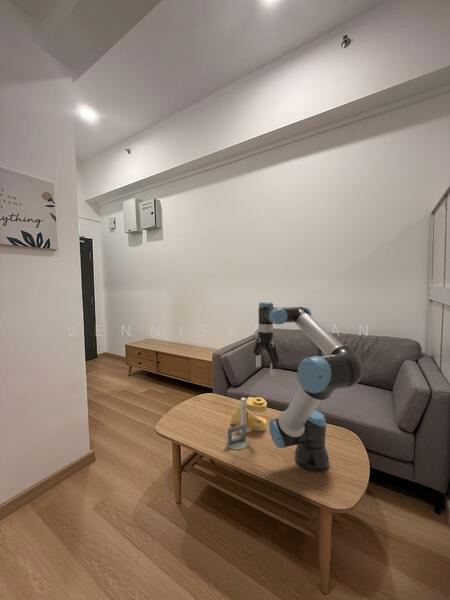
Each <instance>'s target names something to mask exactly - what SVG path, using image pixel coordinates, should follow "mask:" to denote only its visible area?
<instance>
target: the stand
mask: <svg viewBox="0 0 450 600" xmlns="http://www.w3.org/2000/svg"><path fill="white" fill-rule="evenodd" d="M247 399H248V398H246V397H240V407H241V425H243V424H245V425H246V413H248V414H249V415H251V416H252V417H253V418H254V419H255V420H256V421H257V422H258V423H260V420H259V419H258V418H257V417H256V416H257V415H255V414H254V415H253V414H252V413H251V412H250V411H249V410H248V409H247ZM236 426H240V425H234V427H236ZM238 432H239V434H241V435H242V430H239V431H238ZM250 432H253V430H252V429H251V428H249V427H246V434H247V433H250Z"/></svg>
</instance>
